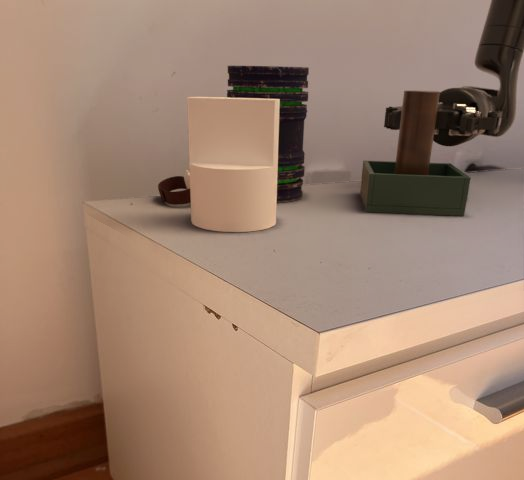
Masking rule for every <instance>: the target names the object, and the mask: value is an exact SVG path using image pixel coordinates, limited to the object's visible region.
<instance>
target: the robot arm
mask: <svg viewBox="0 0 524 480" xmlns="http://www.w3.org/2000/svg"><path fill="white" fill-rule="evenodd" d="M485 18H486V19H485V21H484V25H483V29H482V32H481V35H480V39H479V41H478V46H477V49H476V53H475V57H474V66H475V67H476V69H478V70H479V71H482V72H483V73H486V74H489V75H491V76H493V77H495V78H497V79H498V81H499V89H494V88H487V87H479V86H472V85H463V86H461V87H449V88H446V89H443V90H441V91H439V92H440V95H439V102H438V109H437V116H436V123H435V130H434V137H433V142H434V143H436V144H437V145H439V146H442V147H455V146H459V145H462V144H465V143H467V142H470V141H472V140H474V139H475V138H476V137H478V136H480V135H481V136H486V137H493V138H494V137H495V138H498V137H502V136H504V135H505V134H506V133H507V132H508V131H510V129H511V128H512V126H513V124H514V123H515V120H516V116H517V115H516V113H517V94H518V93H517V90H518V78H519V73H520V72H519V71H520V66H521V61H522V58H523V55H524V0H491V1H490V4H489V8H488V12H487V15H486V17H485ZM401 113H402V106H388V107H385V113H384V122H383V128H386V129H387V130H391V131H399V130H400V121H401Z"/></svg>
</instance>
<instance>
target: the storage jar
mask: <svg viewBox="0 0 524 480" xmlns="http://www.w3.org/2000/svg"><path fill="white" fill-rule="evenodd" d="M309 71H310V67H307V66H306V67H305V66H279V65H278V66H274V65H227V74H228V79H227V87H232V89H227V90H226V97H227V98H262V99H280V108H279V140H278V171H277V203H279V204H280V203H290V202H294V201H299V200H301V199H302V198H303V192H304V191H303V190H302V189H303V188H302V187H303V185H304V180H303V179H302V178H304V177H305V166H304V164H305V154H306V152H305V151H304V138H305V137H304V136H305V120H306V118H307V113H308V110H307V109H308V105H307V104H306V102H309V91H304V90H303V89H309V80H308V76H309V74H310V73H309ZM303 103H304V104H303ZM277 203H276V204H277Z"/></svg>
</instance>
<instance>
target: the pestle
mask: <svg viewBox="0 0 524 480" xmlns="http://www.w3.org/2000/svg"><path fill="white" fill-rule="evenodd" d="M440 92H441V91H438V90H404V91H403V97H402V104H401V107H402V113H401V121H400V130H398V140H397V147H396V156H395V162H396V163H395V172H394V174H406V175H428V172H429V165H430V163H431V156H432V151H433V144H434V143H433V142H434V141H433V137H434V130H435V123H436V116H437V109H438V102H439V95H440Z"/></svg>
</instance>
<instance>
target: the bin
mask: <svg viewBox="0 0 524 480" xmlns="http://www.w3.org/2000/svg"><path fill="white" fill-rule="evenodd" d="M395 163H396V161H390V160H365V159H364V160H362V168H361V169H362V170H361V180H360V190H359V194H360V197H361V200H362V204H363V207H364V210H365V212H366V213H381V214H405V215H429V216H451V217H452V216H455V217H465V212H466V207H467V203H468V195H469V189H470V185H471V180H472V179H471V178H472V177H470V176H469V175H468V174H467V173H465V172H464V171H462V170H461V169H459V168H458V167H456V166H455V165H453V164H452V163H447V162H446V163H445V162H430V165H429V172H428V175H406V174H394V172H395Z"/></svg>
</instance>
